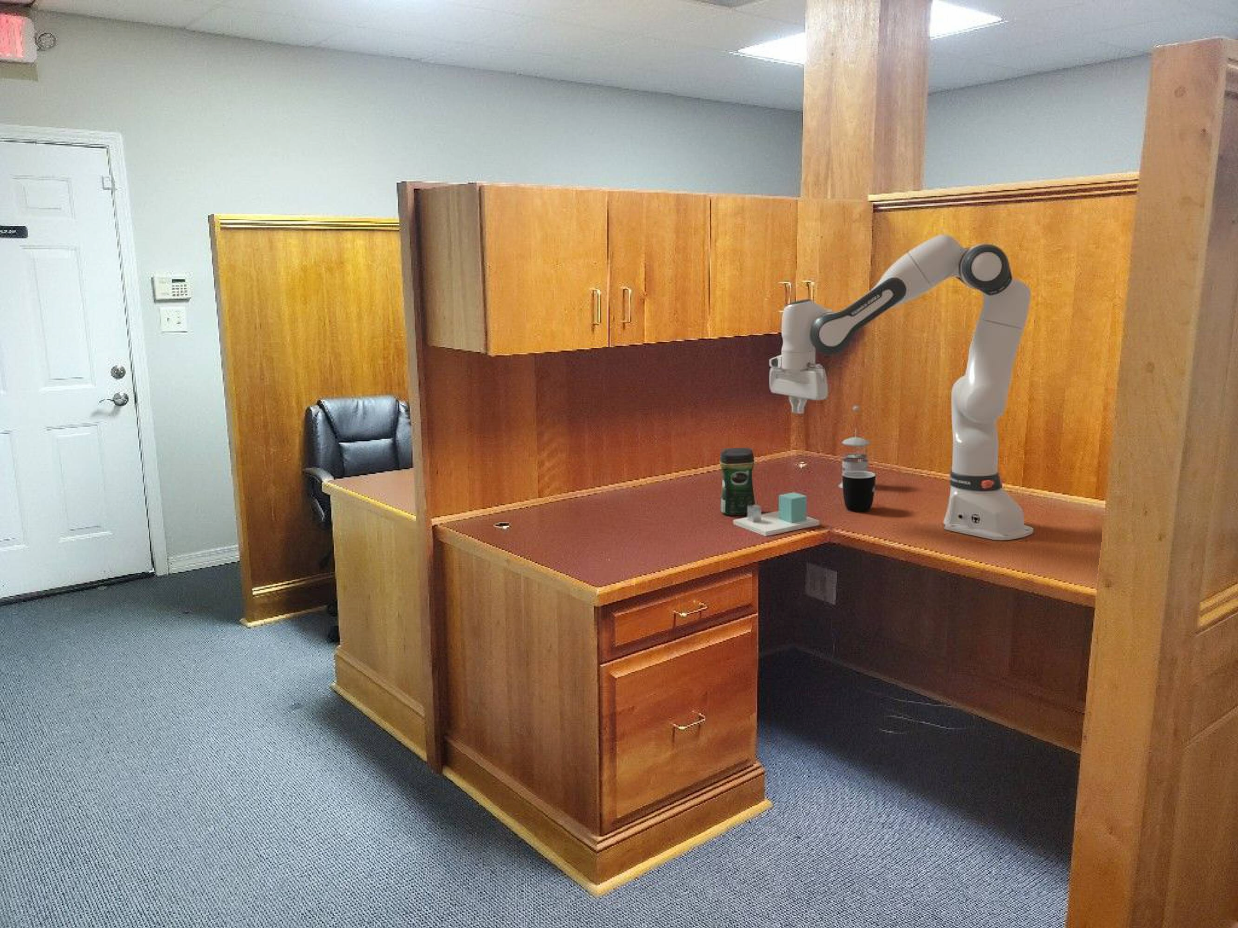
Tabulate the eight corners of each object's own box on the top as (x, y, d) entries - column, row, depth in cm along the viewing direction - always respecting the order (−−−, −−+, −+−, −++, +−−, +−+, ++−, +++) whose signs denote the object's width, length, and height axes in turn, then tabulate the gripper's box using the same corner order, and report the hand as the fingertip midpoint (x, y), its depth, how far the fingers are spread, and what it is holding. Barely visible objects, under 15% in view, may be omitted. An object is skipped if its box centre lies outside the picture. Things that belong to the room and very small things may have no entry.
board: (819, 524, 259) (819, 520, 259) (765, 536, 251) (765, 531, 251) (785, 513, 271) (785, 509, 271) (733, 524, 263) (733, 519, 263)
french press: (833, 487, 298) (834, 407, 293) (847, 480, 308) (848, 401, 303) (864, 491, 293) (866, 409, 288) (877, 483, 303) (879, 403, 297)
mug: (877, 513, 269) (878, 477, 267) (844, 513, 269) (844, 478, 267) (869, 502, 280) (870, 468, 278) (838, 502, 281) (838, 468, 279)
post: (761, 521, 261) (761, 506, 260) (753, 522, 259) (753, 508, 258) (755, 518, 263) (755, 504, 262) (747, 520, 262) (747, 506, 261)
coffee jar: (751, 508, 278) (751, 444, 275) (757, 515, 271) (757, 450, 267) (718, 509, 278) (717, 446, 274) (723, 517, 270) (722, 451, 266)
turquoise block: (806, 520, 260) (806, 496, 259) (791, 523, 258) (791, 499, 256) (794, 515, 264) (794, 492, 263) (778, 518, 262) (778, 495, 261)
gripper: (833, 363, 251) (833, 416, 254) (783, 357, 268) (783, 407, 271) (815, 365, 248) (814, 419, 251) (765, 359, 265) (765, 409, 268)
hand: (797, 413), depth 261 cm, fingers closed
